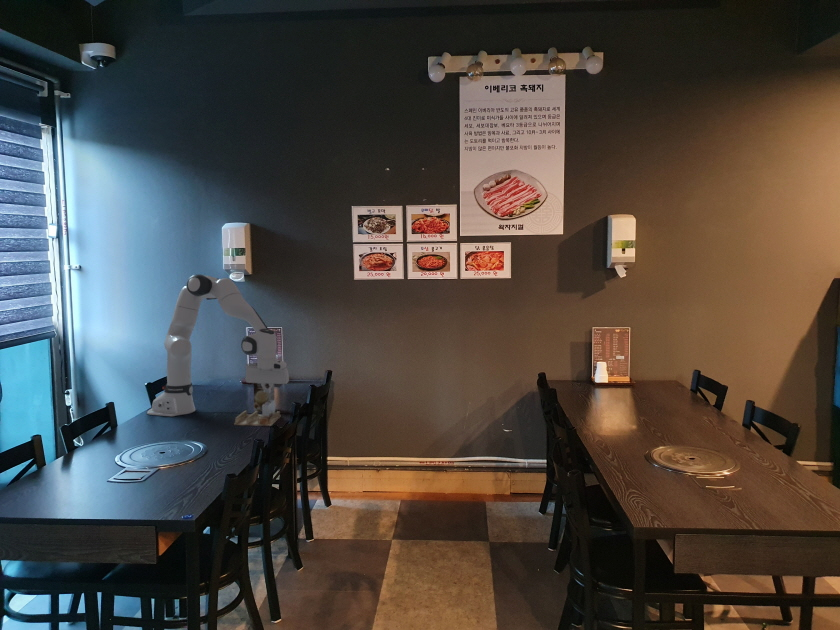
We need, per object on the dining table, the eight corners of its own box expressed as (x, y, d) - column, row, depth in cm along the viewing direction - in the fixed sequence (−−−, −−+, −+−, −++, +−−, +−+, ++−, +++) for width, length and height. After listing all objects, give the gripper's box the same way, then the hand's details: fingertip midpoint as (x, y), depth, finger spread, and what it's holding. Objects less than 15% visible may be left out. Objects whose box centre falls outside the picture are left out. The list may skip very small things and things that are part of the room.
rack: (234, 425, 276) (234, 418, 275) (245, 415, 291) (245, 409, 290) (270, 425, 275) (270, 419, 274) (280, 416, 290) (280, 410, 289)
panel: (262, 421, 277) (262, 405, 277) (269, 415, 287) (268, 399, 286) (268, 422, 277) (268, 405, 276) (275, 416, 287) (275, 399, 286)
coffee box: (253, 411, 298) (252, 380, 297) (258, 408, 305) (257, 377, 303) (271, 412, 298) (270, 380, 296) (275, 408, 304) (274, 378, 302)
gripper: (243, 364, 276) (243, 393, 278) (285, 365, 275) (286, 394, 276) (247, 361, 283) (248, 390, 284) (290, 363, 281) (290, 391, 282)
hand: (267, 392), depth 280 cm, fingers closed
